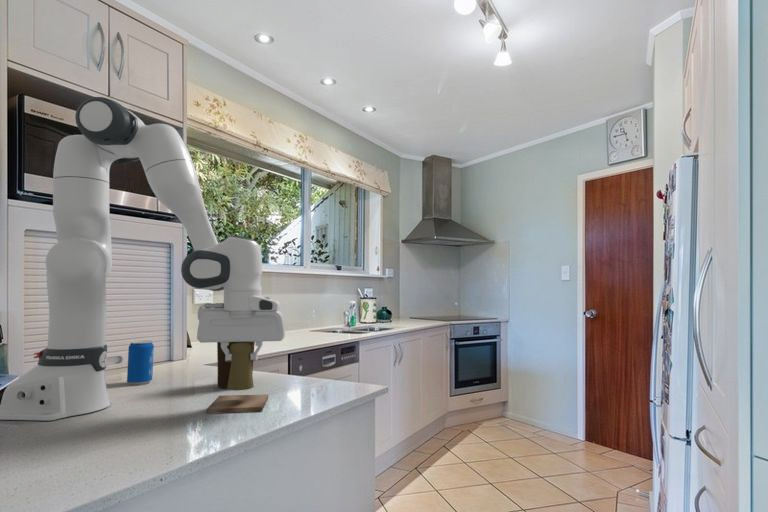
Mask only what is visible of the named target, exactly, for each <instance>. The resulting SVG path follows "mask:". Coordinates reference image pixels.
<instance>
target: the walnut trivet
mask: <svg viewBox="0 0 768 512" xmlns="http://www.w3.org/2000/svg"><path fill="white" fill-rule="evenodd" d="M268 399H269V394H267V393H266V394H265V393H264V394H262V393H261V394H236V395H235V394H232V395H218V397H217V398H216V399H214V400H213V401H212V403H211V404H210V405H209V406H208V407H207V408H206V414H221V413H222V414H224V413H226V414H227V413H229V414H230V413H251V412H252V413H255V412H256V413H257V412H260V413H261V412H263V410H264V408H265V406H266V404H267V402H268Z"/></svg>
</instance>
